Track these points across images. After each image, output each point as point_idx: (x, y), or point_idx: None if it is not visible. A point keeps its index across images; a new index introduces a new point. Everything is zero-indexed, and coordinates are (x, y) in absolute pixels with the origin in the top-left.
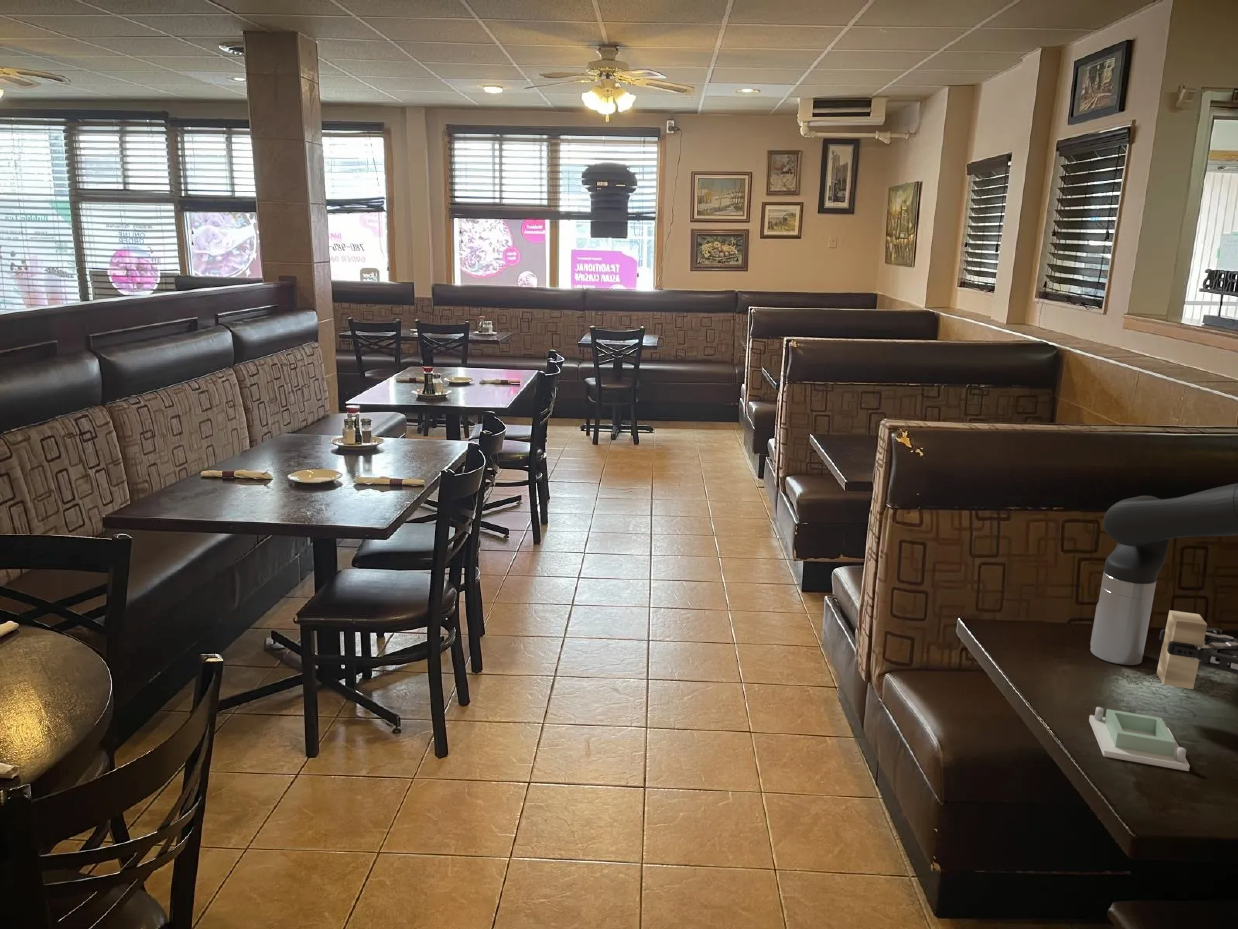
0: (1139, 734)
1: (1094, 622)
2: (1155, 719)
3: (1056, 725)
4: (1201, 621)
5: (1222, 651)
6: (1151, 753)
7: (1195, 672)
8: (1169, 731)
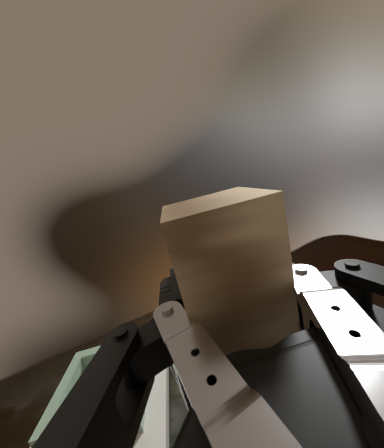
0: (69, 377)
1: None
2: None
3: (147, 320)
4: (190, 212)
5: (189, 408)
6: None
7: None
8: None
